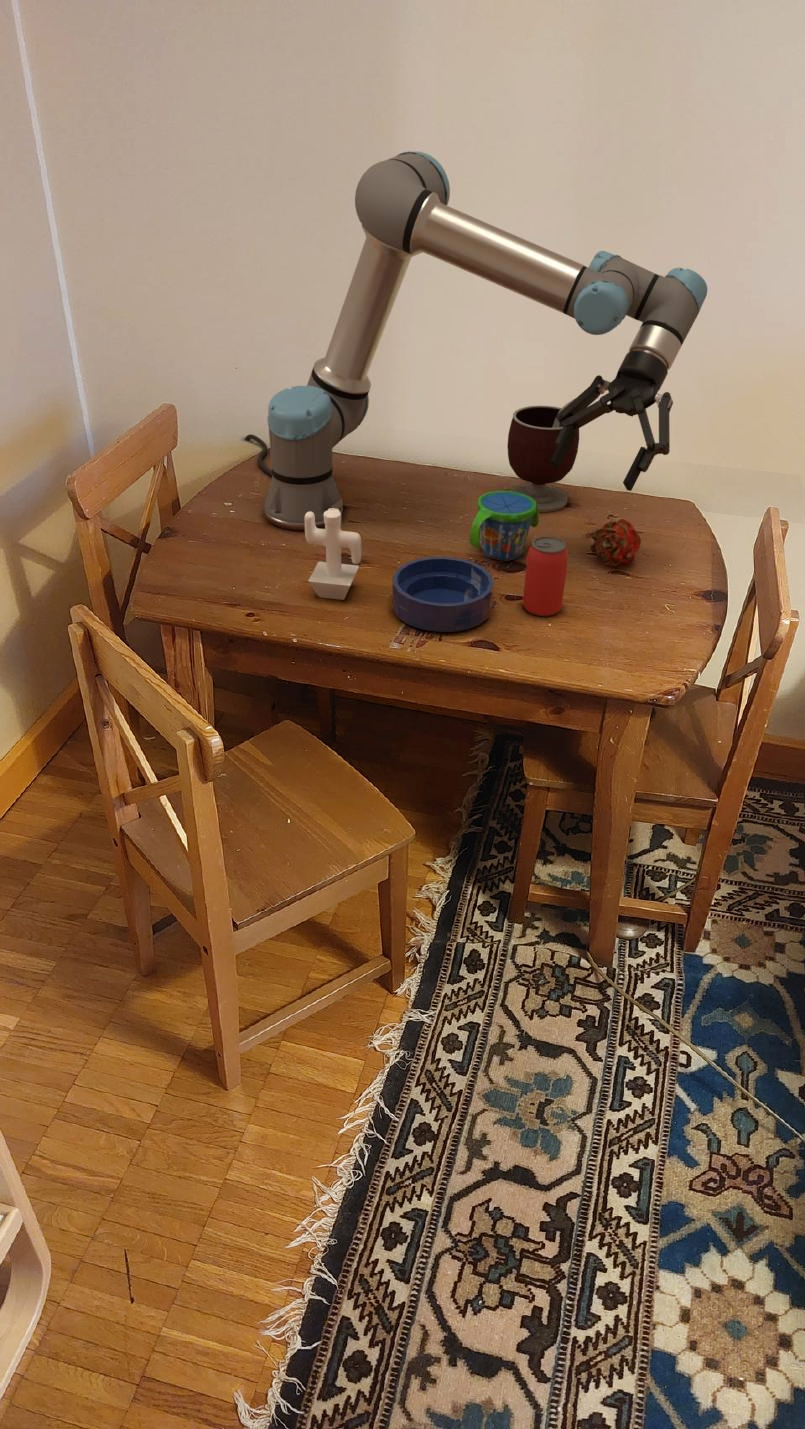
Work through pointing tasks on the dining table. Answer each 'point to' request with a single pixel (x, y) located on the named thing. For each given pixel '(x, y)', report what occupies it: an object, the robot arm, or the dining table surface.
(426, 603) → the bowl
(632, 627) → the dining table surface
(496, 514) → the snack cup
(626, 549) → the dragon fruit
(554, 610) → the beer can
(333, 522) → the figurine
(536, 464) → the mate gourd
